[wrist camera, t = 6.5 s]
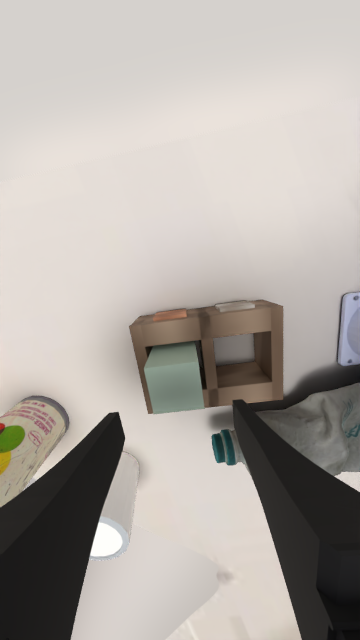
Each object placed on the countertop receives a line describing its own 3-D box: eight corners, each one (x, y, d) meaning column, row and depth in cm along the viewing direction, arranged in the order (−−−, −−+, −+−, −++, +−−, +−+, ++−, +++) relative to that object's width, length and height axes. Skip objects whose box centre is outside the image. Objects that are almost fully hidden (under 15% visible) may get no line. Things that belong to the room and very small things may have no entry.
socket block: (262, 296, 18) (283, 302, 15) (264, 376, 21) (283, 399, 17) (139, 313, 19) (128, 323, 15) (154, 388, 21) (148, 413, 17)
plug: (192, 331, 20) (198, 361, 13) (197, 364, 20) (204, 408, 14) (157, 336, 20) (143, 368, 13) (163, 368, 21) (153, 414, 14)
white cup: (130, 492, 26) (111, 570, 19) (86, 473, 25) (50, 547, 18) (152, 460, 24) (141, 533, 17) (106, 439, 23) (75, 506, 17)
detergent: (429, 353, 20) (205, 371, 20) (561, 402, 13) (219, 428, 13) (394, 439, 24) (209, 452, 24) (479, 509, 17) (221, 527, 18)
